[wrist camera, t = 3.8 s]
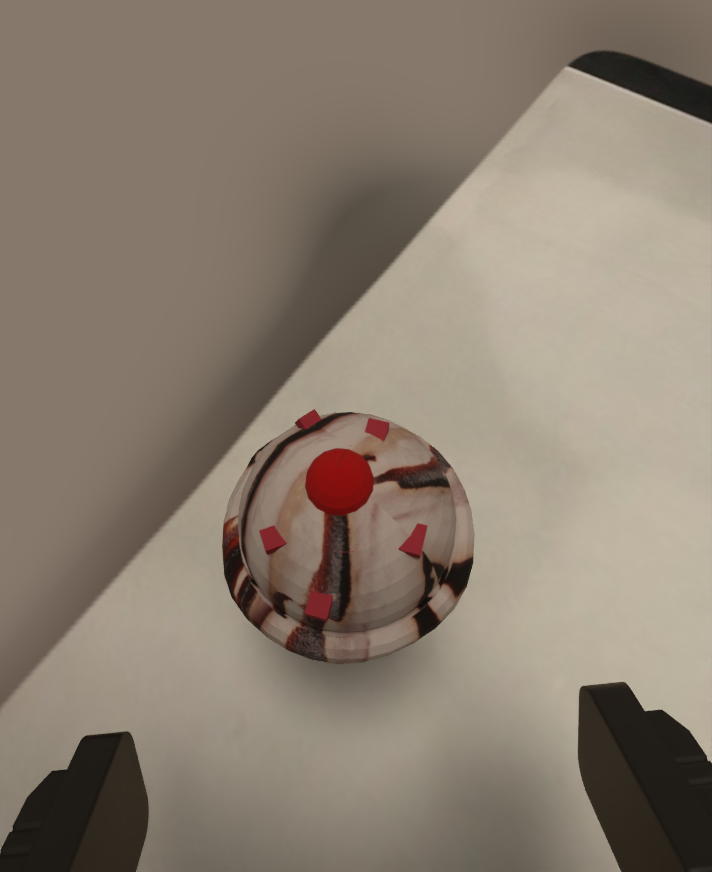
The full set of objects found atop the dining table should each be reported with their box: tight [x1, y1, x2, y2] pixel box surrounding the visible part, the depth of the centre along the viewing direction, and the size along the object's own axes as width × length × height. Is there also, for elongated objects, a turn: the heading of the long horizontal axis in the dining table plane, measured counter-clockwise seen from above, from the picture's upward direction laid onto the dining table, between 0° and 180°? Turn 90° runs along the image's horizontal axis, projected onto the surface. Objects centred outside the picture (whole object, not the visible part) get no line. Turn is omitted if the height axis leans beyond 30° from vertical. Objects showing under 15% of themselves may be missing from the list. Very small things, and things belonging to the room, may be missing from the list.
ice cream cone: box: [222, 409, 474, 664], centre depth 19 cm, size 6×6×15 cm
